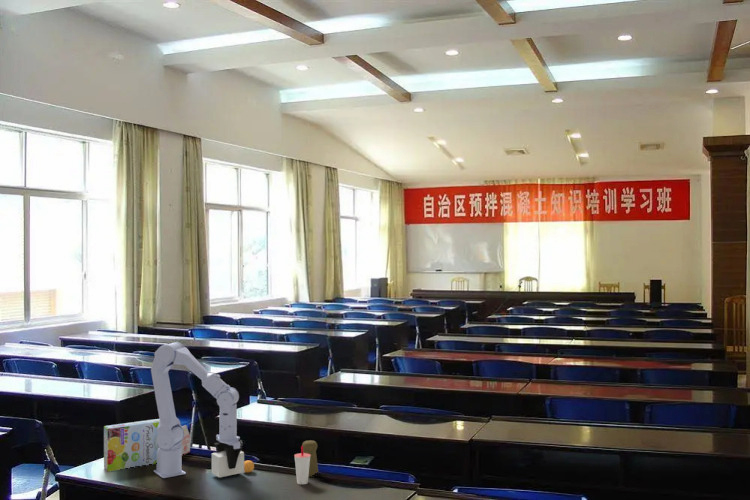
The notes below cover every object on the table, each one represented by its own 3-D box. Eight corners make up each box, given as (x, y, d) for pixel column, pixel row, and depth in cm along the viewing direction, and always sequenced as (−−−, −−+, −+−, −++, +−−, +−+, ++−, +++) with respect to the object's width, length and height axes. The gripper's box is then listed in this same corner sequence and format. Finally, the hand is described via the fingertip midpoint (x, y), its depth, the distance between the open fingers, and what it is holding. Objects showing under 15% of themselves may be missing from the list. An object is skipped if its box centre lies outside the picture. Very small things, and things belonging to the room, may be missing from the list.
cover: (211, 473, 230) (211, 453, 230) (236, 468, 235) (236, 448, 235) (219, 477, 225) (218, 457, 225) (244, 472, 230) (244, 452, 230)
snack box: (164, 458, 251) (164, 417, 251) (168, 462, 246) (169, 420, 246) (103, 468, 239) (103, 425, 239) (107, 472, 234) (107, 428, 234)
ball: (250, 457, 237) (252, 468, 237) (239, 461, 234) (241, 472, 235) (254, 460, 233) (257, 471, 234) (243, 464, 231) (246, 475, 232)
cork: (315, 476, 229) (315, 443, 229) (298, 475, 230) (298, 442, 230) (320, 471, 235) (320, 439, 235) (303, 470, 236) (303, 438, 236)
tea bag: (171, 455, 254) (171, 428, 255) (181, 451, 261) (181, 424, 261) (179, 456, 253) (180, 429, 254) (190, 451, 260) (190, 425, 260)
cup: (295, 486, 219) (295, 448, 220) (292, 481, 225) (293, 444, 225) (312, 484, 221) (312, 447, 221) (309, 479, 226) (309, 443, 226)
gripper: (248, 427, 227) (248, 469, 226) (229, 419, 238) (229, 459, 238) (228, 430, 222) (228, 472, 222) (210, 422, 234) (210, 462, 234)
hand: (227, 466), depth 230 cm, fingers closed on cover, 6 cm apart
